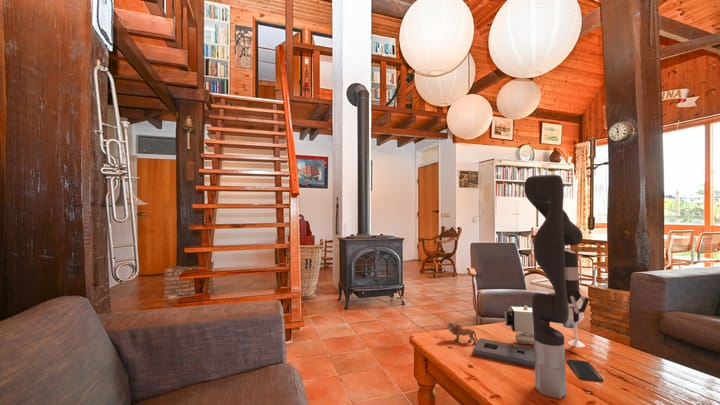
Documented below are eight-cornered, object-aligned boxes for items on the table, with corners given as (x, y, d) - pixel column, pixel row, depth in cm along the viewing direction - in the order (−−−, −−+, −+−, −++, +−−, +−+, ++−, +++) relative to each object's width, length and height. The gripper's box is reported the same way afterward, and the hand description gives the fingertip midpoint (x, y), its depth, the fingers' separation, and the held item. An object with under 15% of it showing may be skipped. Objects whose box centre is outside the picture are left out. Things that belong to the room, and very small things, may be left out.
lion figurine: (447, 342, 153) (447, 323, 153) (448, 337, 158) (447, 319, 158) (480, 345, 149) (479, 326, 149) (479, 341, 154) (479, 322, 154)
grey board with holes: (536, 368, 126) (536, 362, 126) (473, 355, 139) (473, 349, 139) (537, 354, 138) (537, 348, 138) (479, 343, 151) (479, 338, 151)
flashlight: (575, 329, 123) (574, 308, 123) (563, 327, 125) (562, 306, 125) (575, 326, 126) (574, 305, 126) (563, 324, 128) (562, 304, 128)
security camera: (545, 341, 152) (543, 303, 153) (550, 348, 144) (549, 309, 144) (504, 338, 157) (503, 301, 157) (507, 345, 148) (506, 306, 149)
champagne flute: (567, 340, 153) (565, 290, 154) (583, 342, 150) (582, 291, 150) (568, 345, 147) (566, 293, 148) (586, 348, 144) (584, 294, 144)
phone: (587, 361, 130) (604, 380, 116) (587, 364, 130) (604, 383, 116) (565, 359, 132) (579, 377, 118) (565, 361, 132) (579, 380, 118)
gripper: (546, 277, 127) (547, 320, 126) (590, 281, 119) (591, 327, 118) (547, 274, 133) (548, 315, 132) (588, 277, 125) (590, 321, 125)
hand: (568, 320), depth 125 cm, fingers closed on flashlight, 4 cm apart
